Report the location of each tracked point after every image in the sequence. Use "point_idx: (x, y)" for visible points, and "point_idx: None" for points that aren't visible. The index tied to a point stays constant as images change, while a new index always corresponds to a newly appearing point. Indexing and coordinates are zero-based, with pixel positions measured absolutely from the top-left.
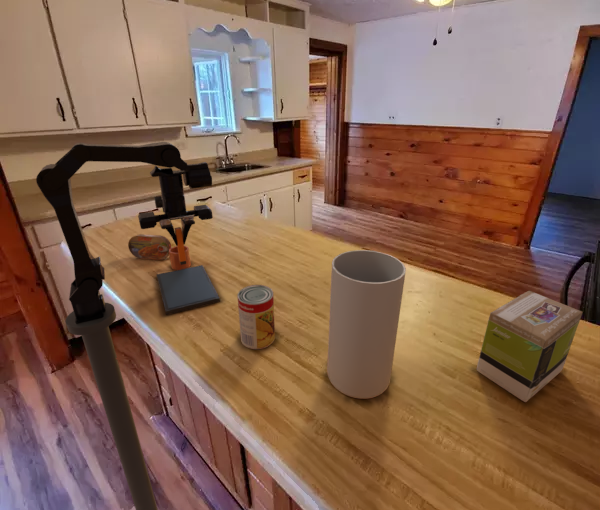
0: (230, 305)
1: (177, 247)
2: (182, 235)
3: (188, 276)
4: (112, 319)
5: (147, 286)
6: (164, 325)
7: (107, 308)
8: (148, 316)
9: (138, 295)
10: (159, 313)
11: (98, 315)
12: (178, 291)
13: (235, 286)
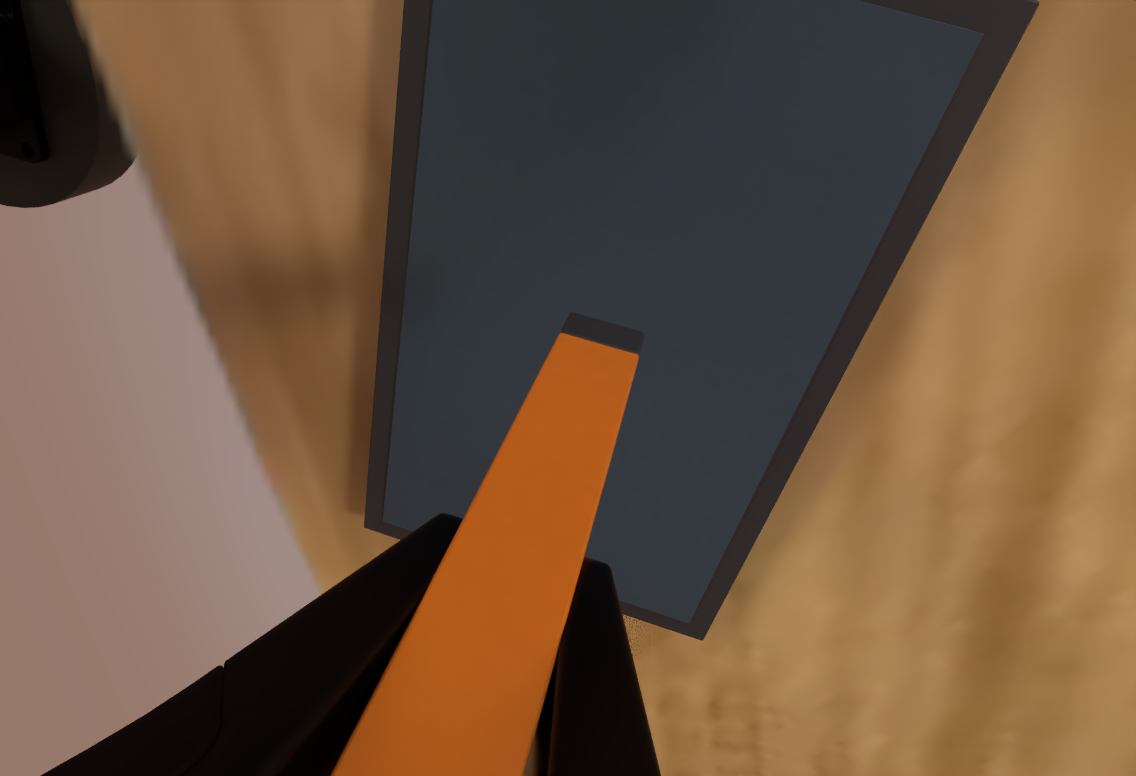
0: (728, 677)
1: (495, 457)
2: (535, 772)
3: (698, 205)
4: (123, 155)
5: (313, 11)
6: (352, 568)
7: (48, 50)
8: (285, 448)
9: (231, 137)
10: (346, 465)
11: (7, 134)
12: (502, 395)
13: (933, 564)
